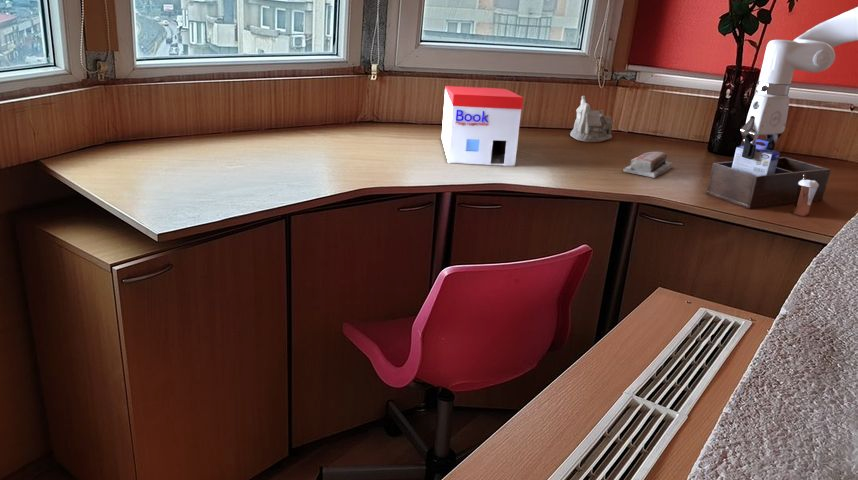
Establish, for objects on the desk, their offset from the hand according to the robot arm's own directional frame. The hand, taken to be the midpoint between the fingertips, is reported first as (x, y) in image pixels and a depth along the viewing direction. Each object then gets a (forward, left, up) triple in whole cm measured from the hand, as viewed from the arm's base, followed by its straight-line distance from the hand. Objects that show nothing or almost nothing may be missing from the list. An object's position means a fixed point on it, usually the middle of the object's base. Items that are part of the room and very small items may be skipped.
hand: (756, 156), depth 193 cm
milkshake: (-14, -3, -12) cm, 19 cm away
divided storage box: (0, -7, -12) cm, 14 cm away
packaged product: (+33, +5, -12) cm, 35 cm away
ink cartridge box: (0, 0, -10) cm, 10 cm away
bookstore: (+68, +46, -12) cm, 83 cm away
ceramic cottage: (+77, -9, -12) cm, 79 cm away
